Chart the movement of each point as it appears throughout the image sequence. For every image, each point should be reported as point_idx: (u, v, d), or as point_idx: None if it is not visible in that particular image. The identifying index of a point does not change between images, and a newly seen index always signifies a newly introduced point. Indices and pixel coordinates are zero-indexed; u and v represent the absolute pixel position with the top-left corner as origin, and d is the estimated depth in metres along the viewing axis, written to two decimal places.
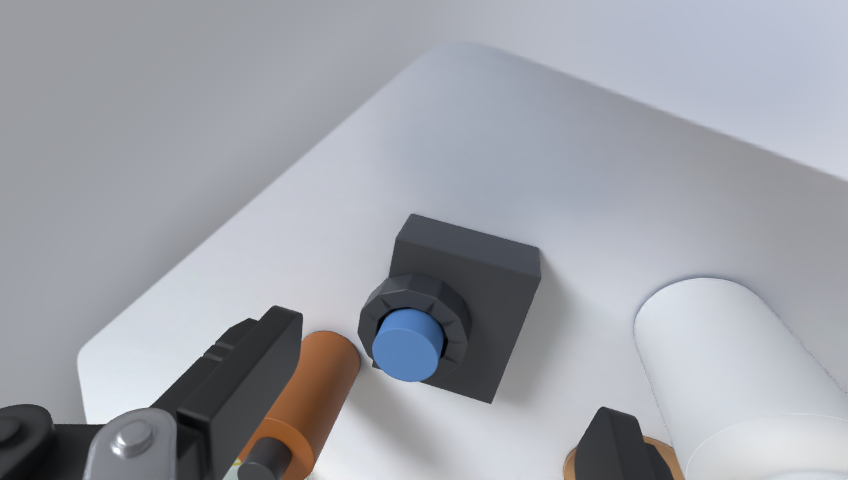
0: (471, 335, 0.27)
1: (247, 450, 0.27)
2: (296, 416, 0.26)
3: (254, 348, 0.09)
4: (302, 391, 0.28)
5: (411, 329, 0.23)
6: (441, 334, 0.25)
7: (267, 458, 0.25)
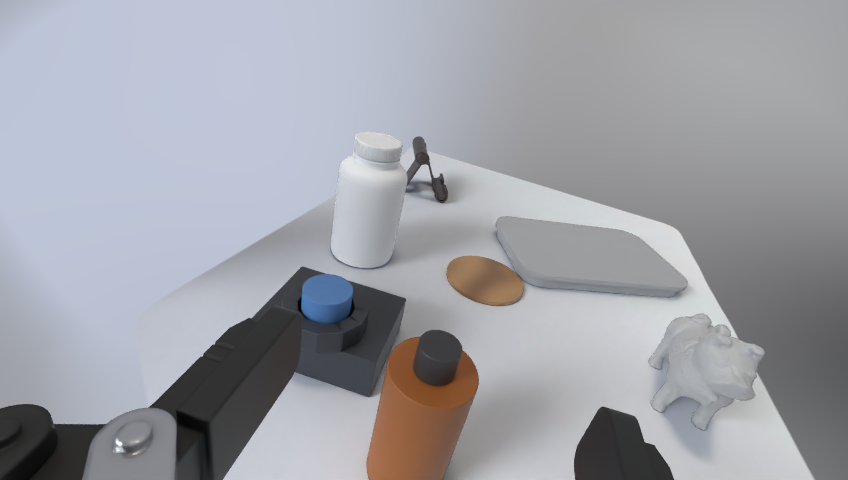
0: None
1: (436, 393, 0.23)
2: None
3: (254, 348, 0.09)
4: None
5: (305, 282, 0.33)
6: None
7: None
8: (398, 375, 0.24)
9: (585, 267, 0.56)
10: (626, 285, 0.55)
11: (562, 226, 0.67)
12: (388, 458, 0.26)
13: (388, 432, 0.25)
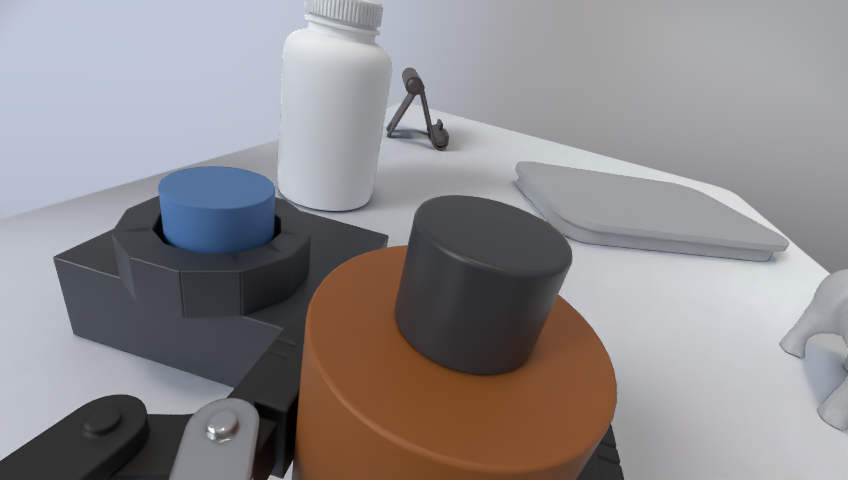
0: None
1: (482, 404, 0.06)
2: None
3: None
4: None
5: (173, 175, 0.16)
6: None
7: None
8: (340, 338, 0.07)
9: (648, 217, 0.40)
10: (710, 241, 0.38)
11: (602, 175, 0.50)
12: None
13: None
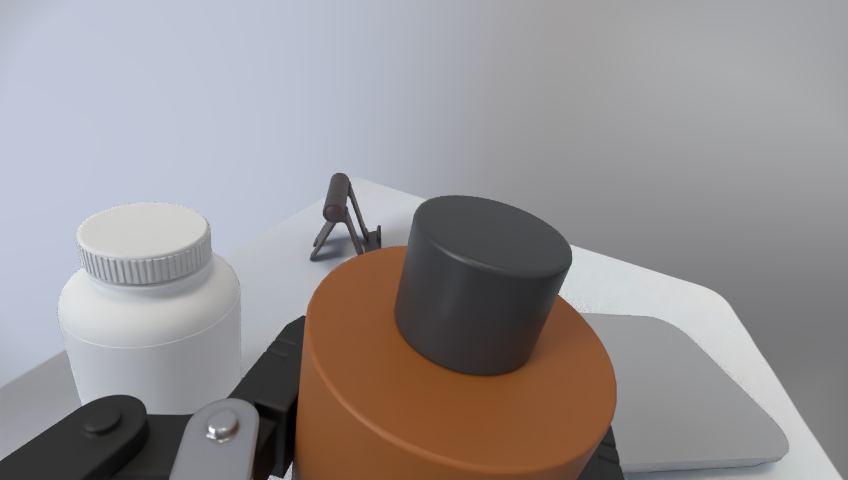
0: None
1: (481, 405, 0.06)
2: None
3: None
4: None
5: None
6: None
7: None
8: (339, 339, 0.07)
9: None
10: (687, 464, 0.30)
11: None
12: None
13: None
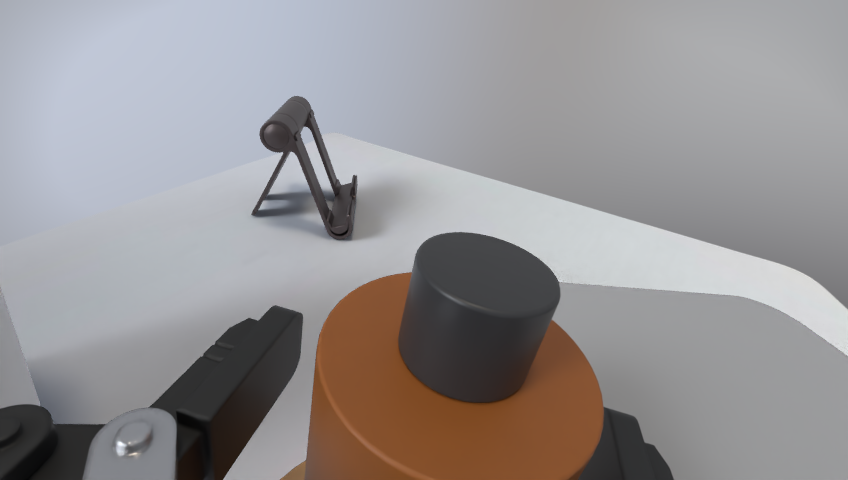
0: None
1: (477, 431, 0.07)
2: None
3: (254, 348, 0.09)
4: None
5: None
6: None
7: None
8: (347, 368, 0.07)
9: (737, 472, 0.17)
10: None
11: (619, 297, 0.28)
12: None
13: None
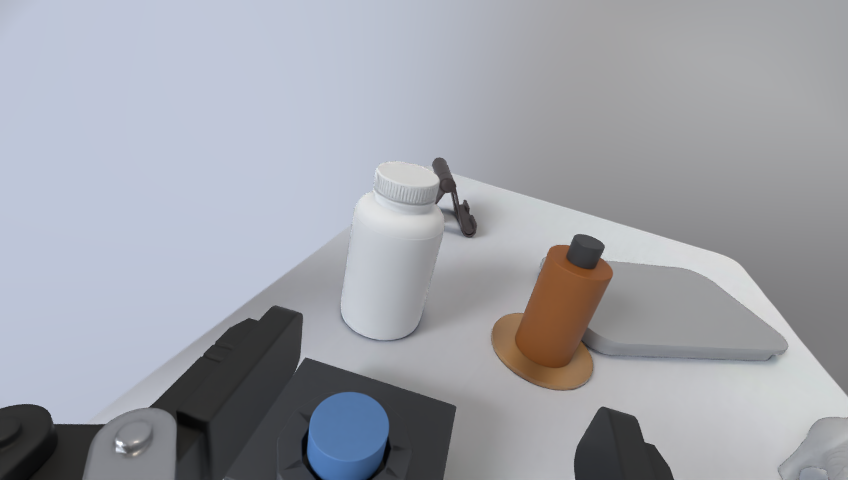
0: None
1: (589, 272, 0.34)
2: None
3: (254, 348, 0.09)
4: None
5: (313, 412, 0.21)
6: None
7: None
8: (560, 262, 0.35)
9: (662, 326, 0.45)
10: (717, 350, 0.43)
11: (618, 266, 0.55)
12: (546, 326, 0.36)
13: (549, 305, 0.36)
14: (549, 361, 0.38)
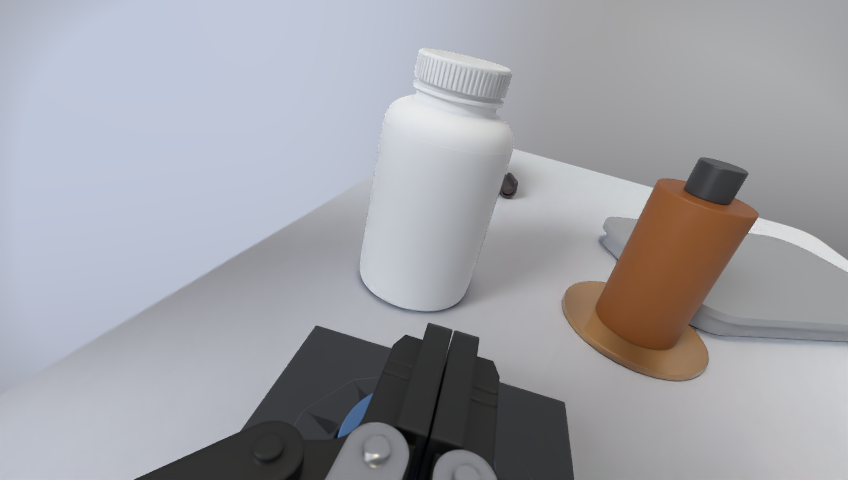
0: None
1: (727, 208, 0.23)
2: None
3: (432, 365, 0.10)
4: (638, 222, 0.27)
5: (342, 426, 0.10)
6: None
7: (695, 167, 0.25)
8: (682, 195, 0.24)
9: (779, 298, 0.34)
10: None
11: None
12: (655, 290, 0.26)
13: (662, 258, 0.25)
14: (653, 340, 0.27)
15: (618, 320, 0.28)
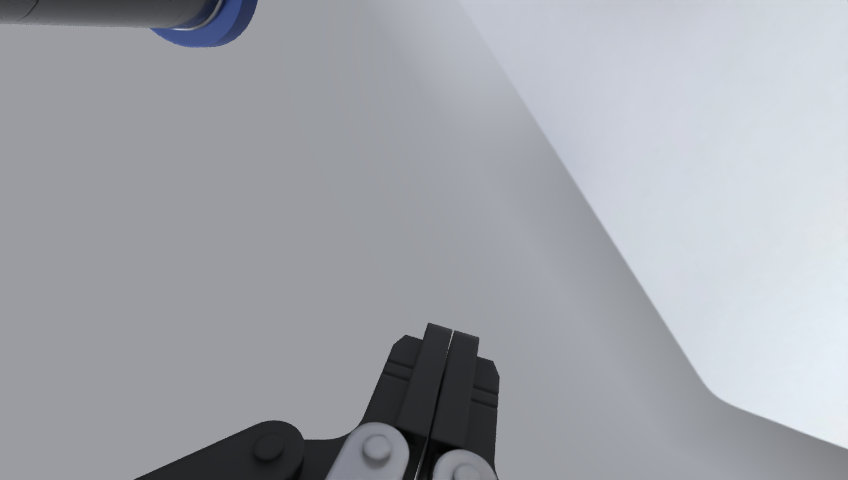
0: None
1: None
2: None
3: (432, 365, 0.10)
4: None
5: None
6: None
7: None
8: None
9: None
10: None
11: None
12: None
13: None
14: None
15: None
